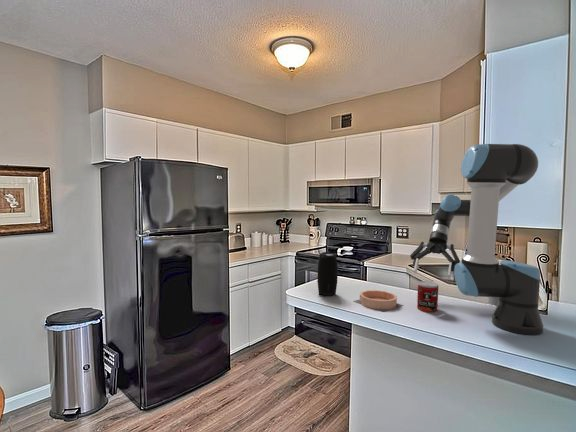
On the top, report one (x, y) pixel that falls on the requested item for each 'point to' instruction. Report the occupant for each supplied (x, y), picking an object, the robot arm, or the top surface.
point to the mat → (382, 309)
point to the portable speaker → (327, 274)
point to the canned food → (427, 296)
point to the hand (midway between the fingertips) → (431, 274)
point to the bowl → (378, 299)
